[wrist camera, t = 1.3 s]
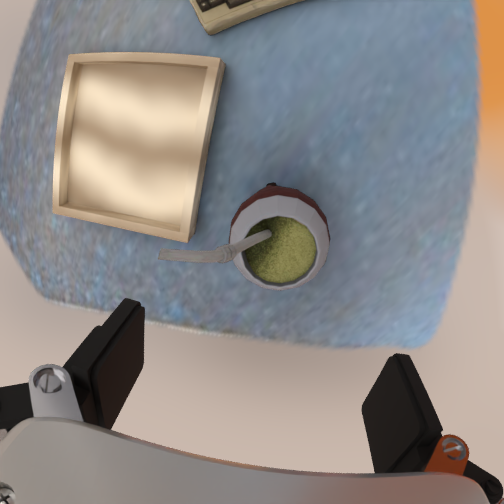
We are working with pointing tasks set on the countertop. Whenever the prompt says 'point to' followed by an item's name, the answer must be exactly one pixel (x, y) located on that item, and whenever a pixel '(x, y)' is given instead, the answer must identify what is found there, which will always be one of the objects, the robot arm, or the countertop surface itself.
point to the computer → (232, 11)
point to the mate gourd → (271, 240)
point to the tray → (135, 139)
